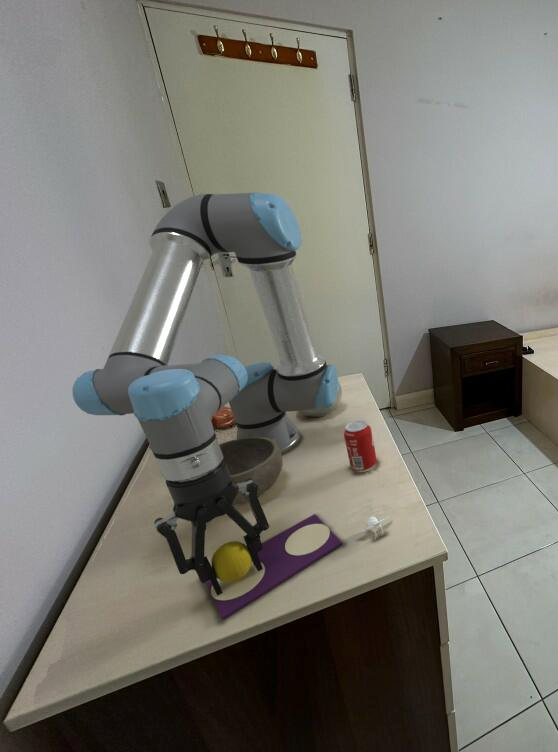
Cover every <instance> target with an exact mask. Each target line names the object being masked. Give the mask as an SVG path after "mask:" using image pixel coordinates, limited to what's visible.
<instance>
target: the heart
mask: <svg viewBox="0 0 558 752" xmlns="http://www.w3.org/2000/svg"><path fill="white" fill-rule="evenodd" d="M210 419H211V422H212V426H213V429H214V428H228V427H231V426H233V425H234V424H236V422H235V419H234V416H233V413H232V410H231V407H230V406H229V407H228V406H225V405H224V406H223V407H222V408H221V409H219V410H218V411H217V412H216V413H215V414H214V415H213V416H212V417H211V418H210Z"/></svg>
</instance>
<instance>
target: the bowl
mask: <svg viewBox="0 0 558 752" xmlns="http://www.w3.org/2000/svg"><path fill="white" fill-rule="evenodd" d="M219 446H220V449H221V451H222V454H223V459H224V460H225V462H226V465H227V467H228V470H229V473H230V476H231V479H232V480H233V481H234V482H236V484H237V483H242V482H245V481H246V480H247V479H248V478H252V479H253V480H254V481H255V483H256V484H257V485H258V490H257V497H258V498H260V497H261V496H263V495H264V494H265V493H266V492H268V491H269V490H270V489H271V488H272V487H273V486H274V485H275V483H276V482H277V481H278V479H279V477H280V476H281V473H282V472H283V471H282V470H283V465H284V461H283V454H281V451H280V449H279V447H278V445H277V444H276V442H275V441H273V440H272V439H270V438H266V437H246V438H240V439H236V438H235V439H232V440H228V441H225V442H221V443H219ZM246 503H248V500H247V498H246V496H245V495H243V494H242V493H241V491H238V493H237V495H236V497H235V500H234V502H233V504H232V505H233V506H234V507H235V506H240V505H243V504H246Z"/></svg>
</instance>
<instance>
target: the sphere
mask: <svg viewBox="0 0 558 752" xmlns="http://www.w3.org/2000/svg"><path fill="white" fill-rule="evenodd" d="M342 389H343V388H342V385H341V383H340V381H339V380H338V390H337V396H336V399H335V402H334V404H333V405H332V406H331V407H329V408H323V409H318V410H315V409H314V410H302V411H297V412H298V413H299V414H301V415H303V416H306V417H311V418H320V417H324V416H326V415H329V414H330V413H331V412H334V410H336V408H337V407H338V405H339V404H340V402H341V400H342V397H343V390H342Z"/></svg>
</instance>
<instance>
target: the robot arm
mask: <svg viewBox="0 0 558 752" xmlns="http://www.w3.org/2000/svg"><path fill="white" fill-rule="evenodd" d="M301 235H302V233H301V228H300V225H299V221H298V219H297V217H296V214H295V213H294V211H293V210H292V207H291V206H290V204H288V203H287V201H286V200H285V199H284V198H282V197H281V196H279V195H277V194H274V193H265V192H240V193H239V192H238V193H237V192H236V193H215V194H214V193H213V194H211V193H201V194H196V195H191V196H190V197H188V198H186V199H184V200H182V201H180V202H179V203H177V204H176V205H174V206H173V207H172V208H171V209H170V210H168V212H167V213H165V215H163V216H162V217H161V219H160V220H159V222H158V223H157V225H156V226H155V228H154V229H153V231H152V234H151V236H150V238H149V242H148V245H149V247H150V249H151V255H150V257H149V259H148V261H147V264H146V266H145V269H144V271H143V273H142V276H141V279H140V281H139V283H138V285H137V287H136V290H135V293H134V295H133V298H132V300H131V302H130V305H129V307H128V309H127V311H126V315H125V316H124V319H123V321H122V323H121V325H120V328H119V330H118V333H117V336H116V338H115V340H114V342H113V346H111V347H112V348H111V349H110V352H109V355H108V357H107V359H106V362H105V364H104V365H103V368H96V369H94V370H88V371H86V372H83V373H82V374H81V375H79V376H78V377H77V378H76V380H75V381H74V383H73V386H72V399H73V401H74V403H75V405H76V406H77V407H78V408H79V409H80V410H81V411H83V412H84V413H86V414H88V415H93V416H121V417H122V416H125V415H132V414H133V415H134V417H135V418H136V419H137V421H138V423H139V425H140V427H141V428H142V432H143V433H144V435H145V437H146V439H147V441H148V442H147V443H149V446H151V448H152V450H151V451H152V454H153V457H154V459H155V462H156V464H157V467H158V468H159V471H160V473H161V475H162V478H163V479H164V480H165V485H166V488H167V490H168V492H169V494H170V496H171V498H172V500H173V506H172V507H173V508H172V512H170V513H168V514H167V515H166V516H164V517H157V518H156V519H155V520H154V521H153V523H154V527H155V529H156V531H157V533H158V534H160V535H161V536H162V537H164V538H165V540H166V543H167V544H168V547H169V550H170V552H171V555H172V557H173V560H174V563H175V565H176V568H177V570H178V572H179V574H180V575H185V574H188V572H189V571H195V572H196V574H197V577H198V579H199V581H200V583H202V584H205V583H206V581H208V580H210V581H211V583H212V586H213V588H214V590H215V592H216V594H217V596H218V595H220V594H222V593H223V592H222V590H221V588H220V585H219V583H218V581H217V578H216V576H215V574H214V571H213V569H212V563H211V562H210V560H209V558H208V556H207V555H205V553H206V552H205V550H206V544H205V543H206V530H207V524H208V523H210V522H211V521H213V520H214V519H216V518H219V517H222V516H225V515H227V517H229V519H231V520H232V521H233V522H234V523H235V524H236V525H237V526H238V527H239V528H240V529H241V530H242V531H243V532H244V533H245V535H243V536H242V537H243V540H244V544H245V545H246V546H247V548H248V549H249V550H250V553H251V557H252V562H253V564H254V566H255V567H256V569H257V570H258V572H259V571H260V570H262V569H263V568H262V565H261V562H260V559H259V557H258V554H257V553H258V552H259V551H261V550H263V546H262V543H263V542H262V540H261V537H262V536H261V533H263V532H266V531H268V530H269V529H270V523H269V521H268V519H267V517H266V514H265V512H264V509H263V507H262V504H261V502H260V500H259V497H257V490H258V485H257V484H256V483H255V481H254V480H253V479H252V478H248V479H247V480H246V481H245V482H242V483H237V484H236V482H234V481H233V480H232V479H231V476H230V473H229V470H228V467H227V465H226V462H225V460H224V459H223V454H222V451H221V449H220V446H219V444H220V443H219V441H218V440H219V439H218V438H217V435H216V432H215V430H214V428H213V426H212V422H211V419H210V418H211V417H212V416H213V415H214V414H215V413H216V412H217V411H218V410H219V409H221V408H222V407H223V406H224V407H225V406H226V405H227V404H229V408H231V410H232V413H233V416H234V419H235V422H236V423H235V425H236V427H237V428H236V438H235V440H236V439H240V438H246V437H266V438H270V439H272V440H273V441H275V442H276V444H277V445H278V447H279V449H280V451H281V454H282V455H283V454H285V453H286V452H288V451H290V450H291V449H292V448H294V447H296V445H297V444H298V443H299V441H300V433H299V430H298V429H297V427H296V425H295V424H294V423H293V422H292V420H291V419H290V418H289V416H288V415H287V413H289V412H298V411H302V410H314V409H315V410H318V409H323V408H329V407H331V406H332V405H333V404H334V402H335V399H336V396H337V390H338V381H339V375H338V369H337V367H336V366H335V365H334V364H327V361H326V358H325V356H324V355H322V354H320V353H318V351H317V349H316V345H315V341H314V338H313V335H312V331H311V327H310V324H309V321H308V317H307V313H306V309H305V306H304V303H303V300H302V296H301V292H300V288H299V285H298V281H297V279H296V274H295V271H294V268H293V262H294V261H295V259H296V258H297V252H296V251H297V250H299V249H300V248H301V246H302V236H301ZM219 253H234V254H235V256H236V257H235V258H236V260H237V262H238V264H239V265H241V266H243V267H245V268H246V269H248V271H249V273H250V276H251V279H252V281H253V285H254V288H255V291H256V294H257V297H258V299H259V303H260V305H261V308H262V312H263V313H264V317H265V320H266V323H267V327H268V329H269V332H270V335H271V338H272V341H273V344H274V347H275V350H276V353H277V355H278V359H279V362H278V364H277V365H276V367H275V366H274V364H273V363H272V362H268V361H262V362H257V363H256V362H255V363H252V364H248V365H245V366H244V365H243V363H242V362H241V361H239V360H238V359H237V358H236V357H234V356H230V355H227V354H216V355H213V356H210V357H207V358H205V359H203V360H202V361H201V362H195V363H183V364H169V363H170V361H171V356H172V354H173V351H174V348H175V345H176V342H177V339H178V336H179V333H180V331H181V327H182V324H183V322H184V318H185V315H186V312H187V309H188V307H189V303H190V300H191V298H192V295H193V292H194V290H195V286H196V283H197V280H198V278H199V275H200V271H201V269H202V268H205V267H206V266H208V265H209V264H210V262H211V258H212V257H213V255H216V254H219ZM238 491H241V493H242V494H243V495H245V496H246V498H247V500H248V502H247V503H248V505H249V508H250V510H251V512H252V515H253V517H254V519H255V522H256V523H255V524H253V525H252V523H251V522H250V521H248V519H247V518H246V517H245V516H244V515H243V514H242V512H240V511H239V510H238V509H237V508H236V507H235V506H233V505H232V504H233V502H234V500H235V497H236V495H237V493H238ZM179 519H180V520H184V521H188V522H190V524H191V545H190V546H191V549H190V557H189V558H186V556H185V553H184V550H183V547H182V544H181V543H180V540H179V537H178V534H177V532H176V530H175V529H177V527H178V523H177V521H178V520H179Z"/></svg>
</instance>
